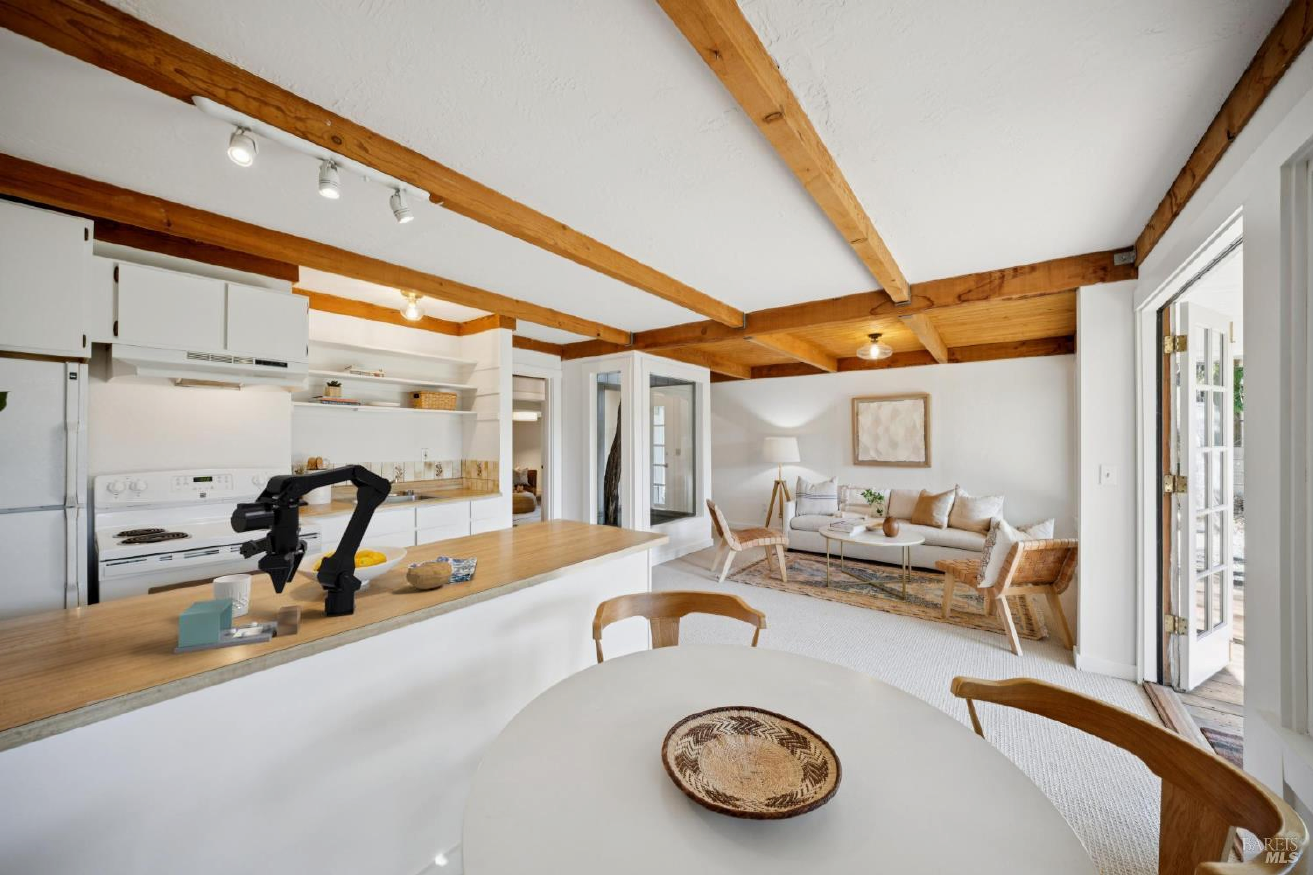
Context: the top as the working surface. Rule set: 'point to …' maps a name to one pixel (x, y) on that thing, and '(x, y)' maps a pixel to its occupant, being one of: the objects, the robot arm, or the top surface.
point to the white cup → (234, 591)
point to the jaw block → (288, 620)
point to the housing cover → (204, 622)
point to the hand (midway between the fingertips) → (284, 587)
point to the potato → (429, 575)
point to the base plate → (237, 637)
